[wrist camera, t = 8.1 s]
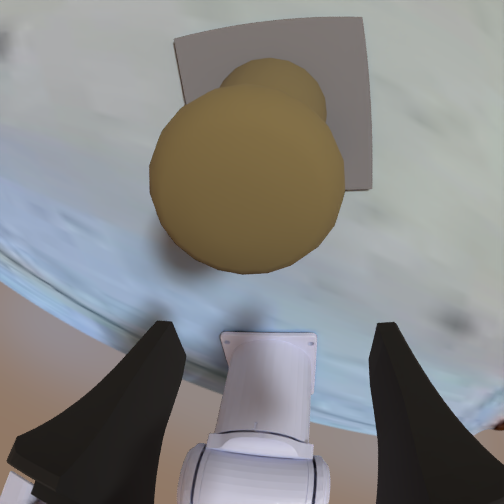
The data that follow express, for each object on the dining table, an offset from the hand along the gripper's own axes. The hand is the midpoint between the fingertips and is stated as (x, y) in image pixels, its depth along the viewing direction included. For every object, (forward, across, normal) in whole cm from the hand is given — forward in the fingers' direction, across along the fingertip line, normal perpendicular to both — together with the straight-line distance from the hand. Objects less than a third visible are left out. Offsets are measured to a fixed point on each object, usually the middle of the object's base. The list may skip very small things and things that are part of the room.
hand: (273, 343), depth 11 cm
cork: (+10, 0, -6) cm, 12 cm away
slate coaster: (+11, 0, -6) cm, 13 cm away
